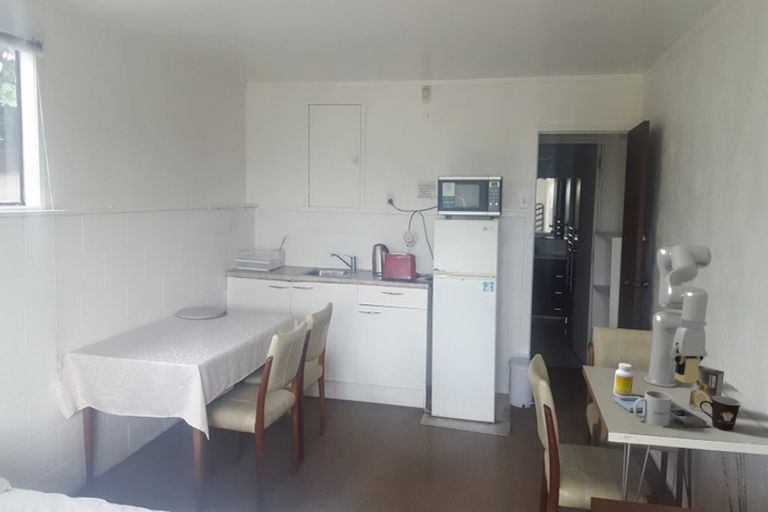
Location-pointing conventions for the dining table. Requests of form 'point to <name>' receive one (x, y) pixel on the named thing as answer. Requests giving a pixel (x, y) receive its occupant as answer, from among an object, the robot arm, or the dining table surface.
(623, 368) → the supplement bottle
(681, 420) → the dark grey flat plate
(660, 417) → the mug
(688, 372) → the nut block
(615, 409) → the dining table surface
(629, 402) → the parts tray
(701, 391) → the coffee box
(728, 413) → the coffee mug
